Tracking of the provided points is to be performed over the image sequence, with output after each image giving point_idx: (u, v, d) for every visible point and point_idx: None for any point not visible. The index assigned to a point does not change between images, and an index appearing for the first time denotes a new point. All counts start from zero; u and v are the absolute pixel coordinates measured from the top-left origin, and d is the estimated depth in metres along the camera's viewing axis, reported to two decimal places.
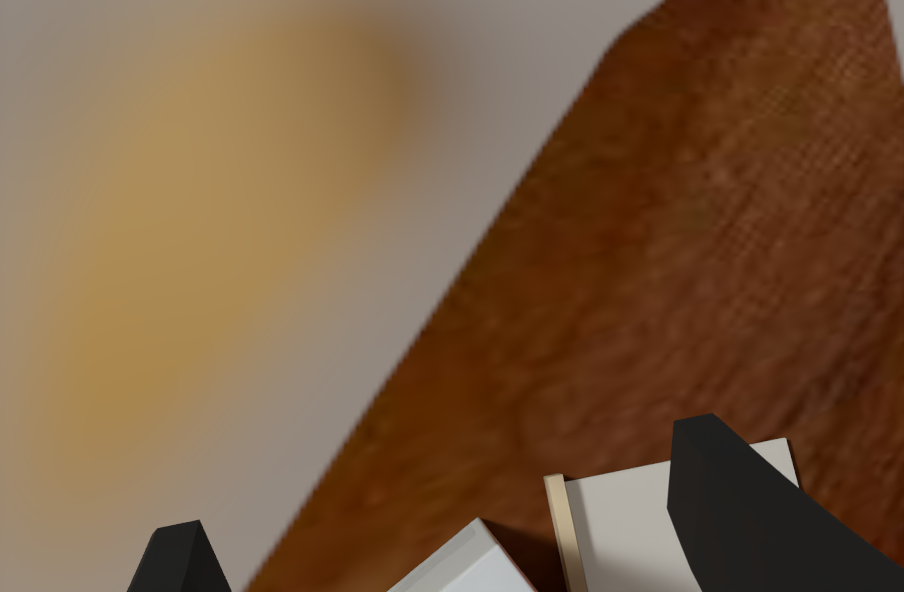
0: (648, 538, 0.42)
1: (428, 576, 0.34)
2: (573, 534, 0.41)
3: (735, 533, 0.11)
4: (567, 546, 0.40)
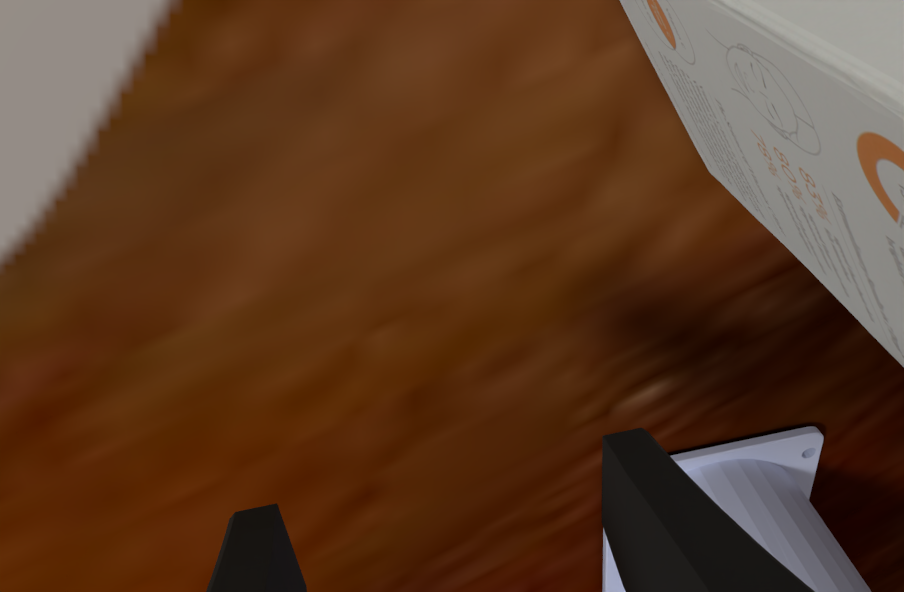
0: None
1: None
2: None
3: (655, 551, 0.11)
4: None
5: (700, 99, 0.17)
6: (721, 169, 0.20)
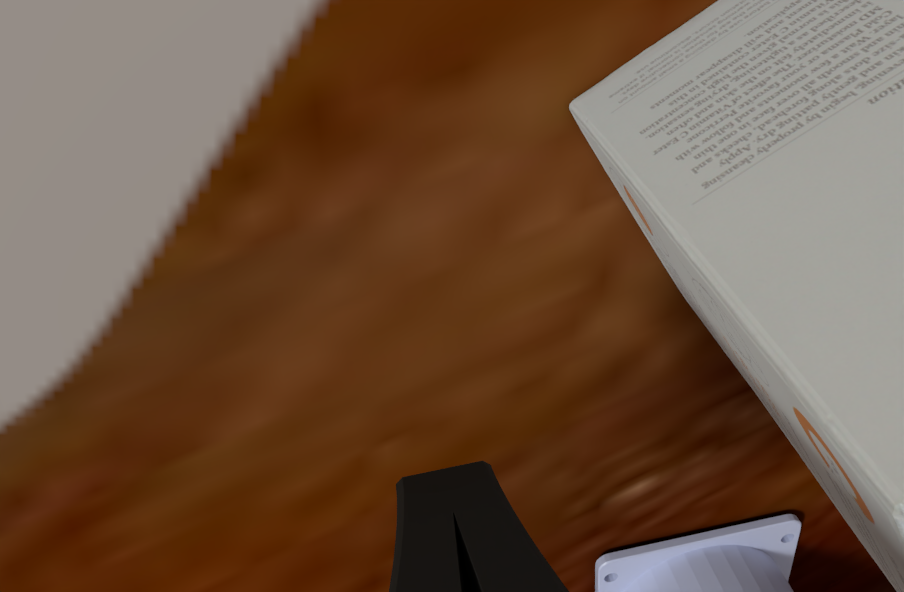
0: None
1: (849, 161, 0.13)
2: None
3: (475, 591, 0.10)
4: None
5: (675, 274, 0.19)
6: (698, 315, 0.22)
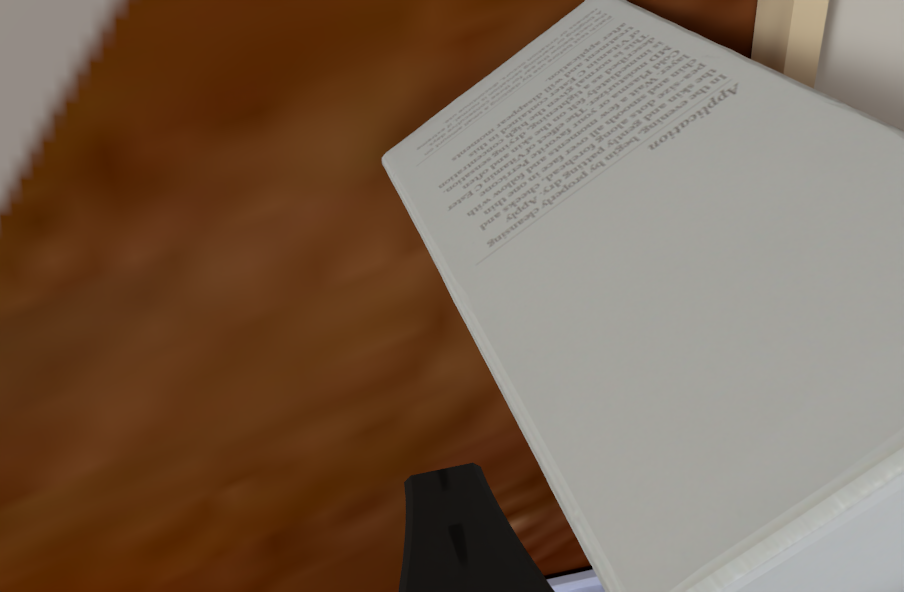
0: None
1: (625, 212, 0.12)
2: (815, 50, 0.18)
3: None
4: (795, 75, 0.18)
5: None
6: None
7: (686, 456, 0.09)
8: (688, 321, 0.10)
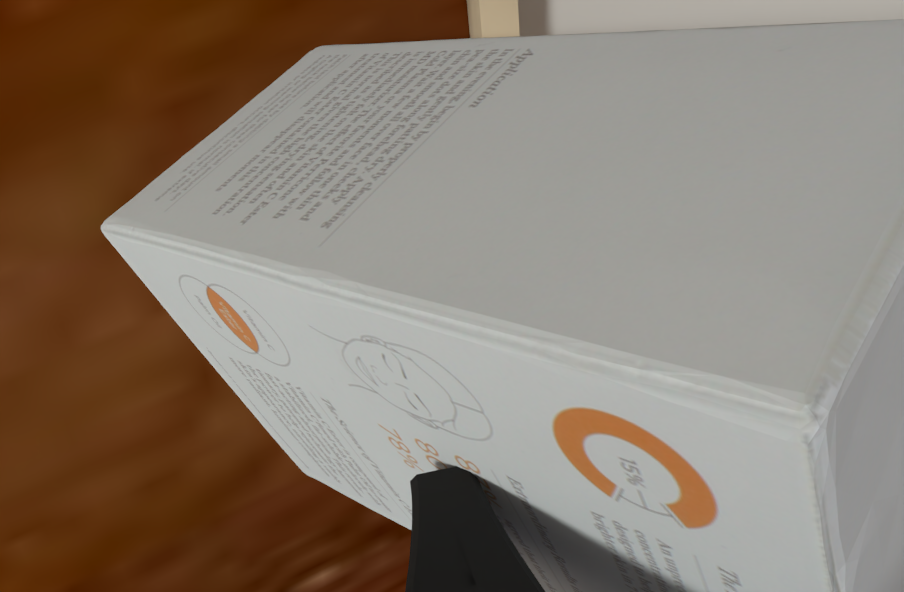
0: None
1: (483, 150, 0.11)
2: None
3: None
4: None
5: (296, 401, 0.15)
6: (325, 469, 0.17)
7: (728, 263, 0.08)
8: (631, 184, 0.09)
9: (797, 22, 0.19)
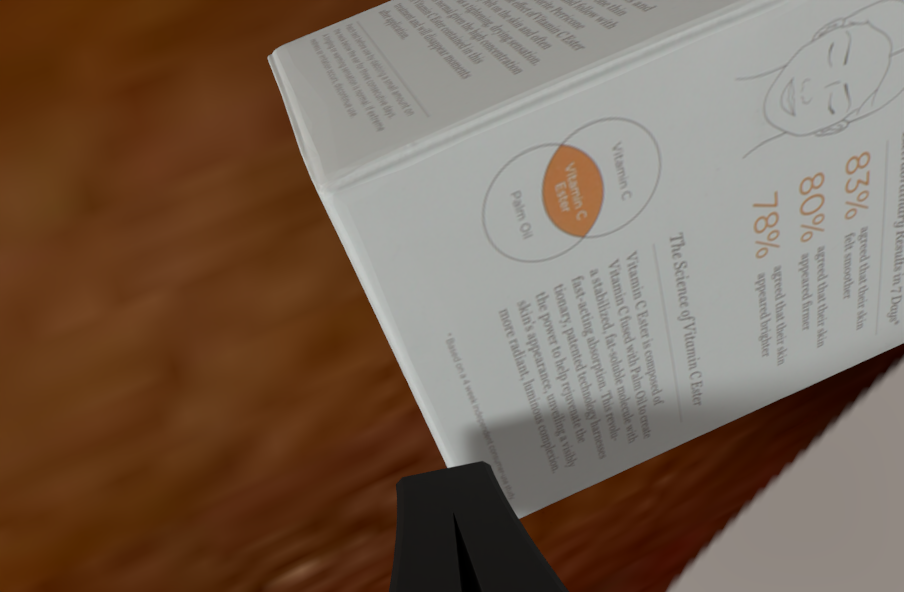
0: None
1: None
2: None
3: None
4: None
5: (607, 297, 0.13)
6: (560, 453, 0.14)
7: None
8: None
9: None
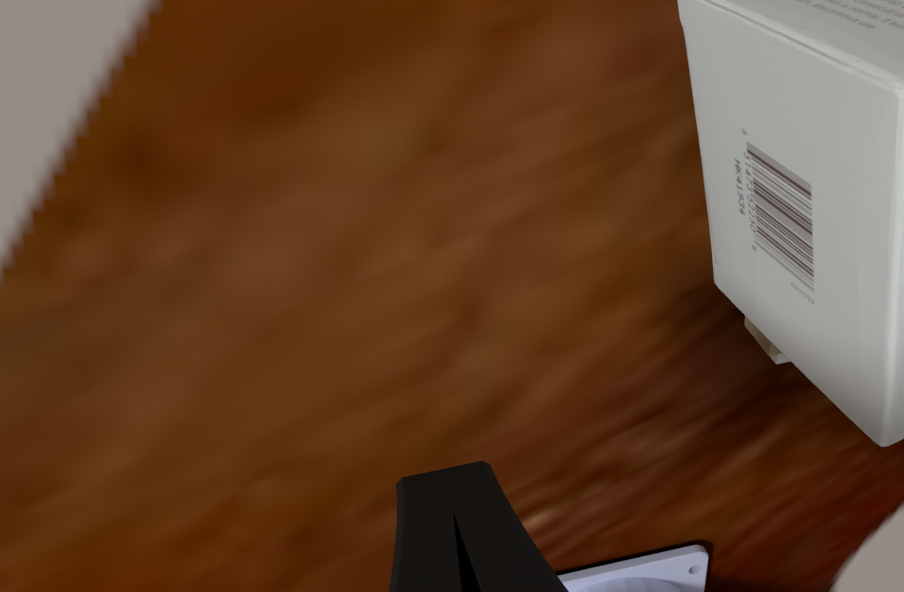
0: None
1: None
2: None
3: None
4: None
5: None
6: None
7: None
8: None
9: None
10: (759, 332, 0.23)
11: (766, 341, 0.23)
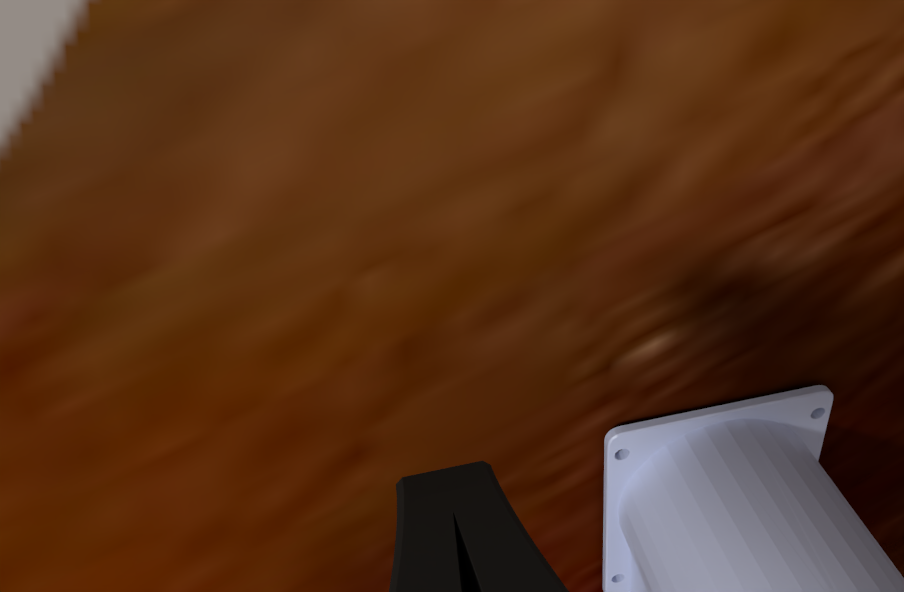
0: None
1: None
2: None
3: None
4: None
5: None
6: None
7: None
8: None
9: None
10: None
11: None
